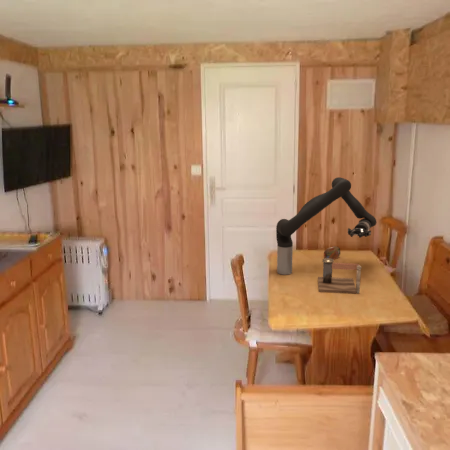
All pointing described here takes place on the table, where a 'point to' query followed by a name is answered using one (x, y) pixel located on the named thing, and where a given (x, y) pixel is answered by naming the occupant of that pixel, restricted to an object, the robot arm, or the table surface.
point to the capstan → (329, 265)
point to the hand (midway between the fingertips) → (355, 235)
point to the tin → (332, 252)
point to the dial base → (341, 284)
